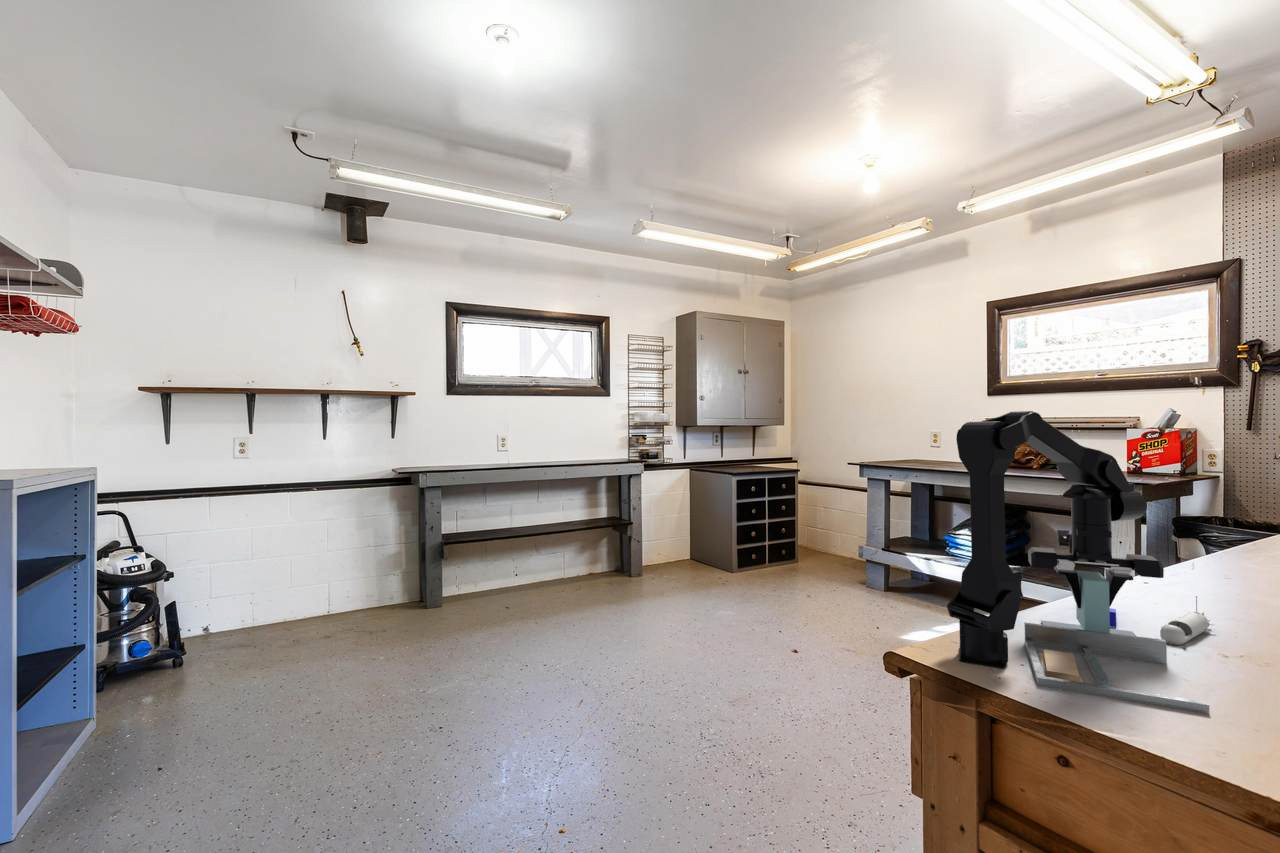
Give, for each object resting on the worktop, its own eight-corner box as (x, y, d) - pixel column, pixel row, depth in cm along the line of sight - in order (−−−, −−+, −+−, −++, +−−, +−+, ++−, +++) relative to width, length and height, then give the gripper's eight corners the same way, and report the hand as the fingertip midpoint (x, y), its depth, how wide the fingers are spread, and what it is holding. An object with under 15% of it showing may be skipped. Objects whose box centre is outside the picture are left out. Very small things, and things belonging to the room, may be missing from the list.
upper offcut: (1047, 678, 89) (1046, 670, 89) (1043, 656, 97) (1043, 649, 97) (1079, 683, 87) (1079, 675, 87) (1073, 660, 95) (1073, 653, 95)
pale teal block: (1084, 631, 102) (1084, 580, 102) (1076, 618, 109) (1075, 570, 109) (1109, 634, 101) (1109, 582, 101) (1099, 620, 108) (1099, 572, 108)
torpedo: (1188, 651, 100) (1187, 613, 100) (1153, 643, 104) (1152, 606, 104) (1220, 630, 110) (1220, 595, 110) (1187, 623, 114) (1187, 590, 114)
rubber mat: (1051, 646, 102) (1051, 644, 102) (1041, 622, 115) (1041, 620, 115) (1155, 661, 96) (1154, 658, 96) (1132, 634, 108) (1132, 631, 108)
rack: (1037, 687, 87) (1037, 660, 87) (1024, 644, 103) (1024, 622, 103) (1209, 716, 78) (1208, 686, 78) (1164, 664, 94) (1164, 639, 94)
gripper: (1145, 519, 108) (1146, 604, 108) (1024, 513, 117) (1025, 591, 117) (1164, 529, 98) (1165, 622, 98) (1031, 522, 107) (1032, 607, 107)
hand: (1092, 609), depth 105 cm, fingers closed on pale teal block, 3 cm apart
